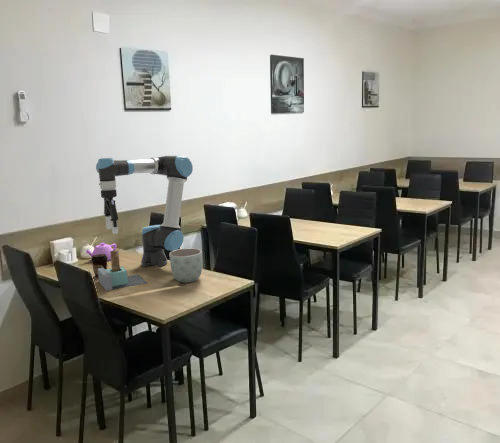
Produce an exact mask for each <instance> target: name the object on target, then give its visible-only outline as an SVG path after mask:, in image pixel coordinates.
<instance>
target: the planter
mask: <svg viewBox="0 0 500 443" xmlns="http://www.w3.org/2000/svg"><path fill="white" fill-rule="evenodd" d="M168 255H169V256H168V257H169V261H170V262H169V263H170V270H171V274H172V277H173V278H174V280H175V281H177V282H179V283H182V284H188V282H189V283H193V282H197V280H199V278H200V277H201V274H202V272H203V270H202V268H203V265H202V264H203V251H202V250H201V249H199V248H193V247H191V248H179V249H177V250H174V251H173V250H171V251H170V252H169V253H168Z"/></svg>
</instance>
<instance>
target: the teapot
mask: <svg viewBox="0 0 500 443" xmlns="http://www.w3.org/2000/svg"><path fill="white" fill-rule="evenodd" d="M117 245H118V244H116V243H112V244H107V243H105V242H100V243H99V244H97V245H95V247H94V249H93V251H90V250H89V249H87V250H85V253H86V254H87V255H88V256H90V257H91V258H92V256H93V255H98V254H106V256H107V257H108V258H107V262H111V253H110V251H113V250H117ZM112 247H113V248H112Z"/></svg>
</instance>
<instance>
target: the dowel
mask: <svg viewBox="0 0 500 443" xmlns="http://www.w3.org/2000/svg"><path fill="white" fill-rule="evenodd" d="M119 252H120V251H119V250H117V249H116V250H113V251H110V253H111V260H110V263H111V264H110V265H111V268H112V272H116V271H120V267H121V266H120V264H121V263H120V253H119Z"/></svg>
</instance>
